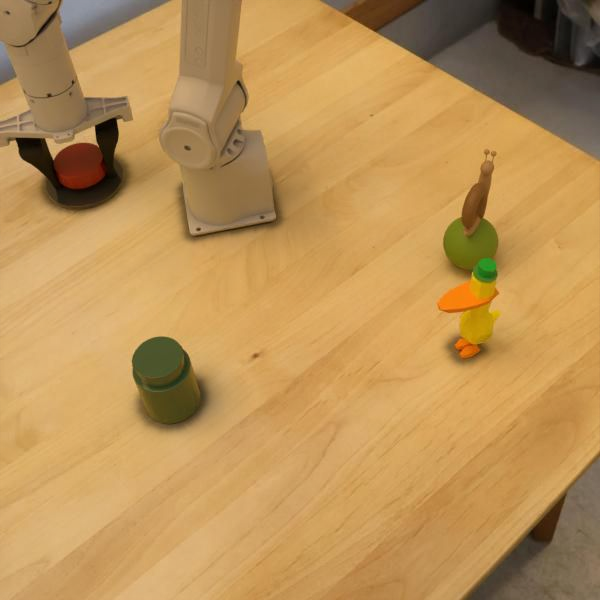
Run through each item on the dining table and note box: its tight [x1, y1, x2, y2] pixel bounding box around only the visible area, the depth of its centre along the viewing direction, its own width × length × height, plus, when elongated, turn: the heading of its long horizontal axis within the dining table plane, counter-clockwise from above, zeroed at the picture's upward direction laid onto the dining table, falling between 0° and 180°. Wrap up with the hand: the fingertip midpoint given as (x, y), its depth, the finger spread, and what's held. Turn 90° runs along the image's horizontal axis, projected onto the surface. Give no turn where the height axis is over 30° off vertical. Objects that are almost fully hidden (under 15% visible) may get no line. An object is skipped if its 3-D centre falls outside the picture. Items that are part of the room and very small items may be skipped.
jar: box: [131, 335, 201, 425], centre depth 77 cm, size 5×5×7 cm
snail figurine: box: [442, 148, 499, 270], centre depth 83 cm, size 5×6×12 cm
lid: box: [53, 142, 107, 189], centre depth 97 cm, size 6×6×2 cm
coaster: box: [45, 157, 125, 210], centre depth 99 cm, size 9×9×1 cm
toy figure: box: [436, 258, 503, 359], centre depth 76 cm, size 7×4×12 cm, turn 112°
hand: (84, 177), depth 99 cm, fingers closed on lid, 5 cm apart
